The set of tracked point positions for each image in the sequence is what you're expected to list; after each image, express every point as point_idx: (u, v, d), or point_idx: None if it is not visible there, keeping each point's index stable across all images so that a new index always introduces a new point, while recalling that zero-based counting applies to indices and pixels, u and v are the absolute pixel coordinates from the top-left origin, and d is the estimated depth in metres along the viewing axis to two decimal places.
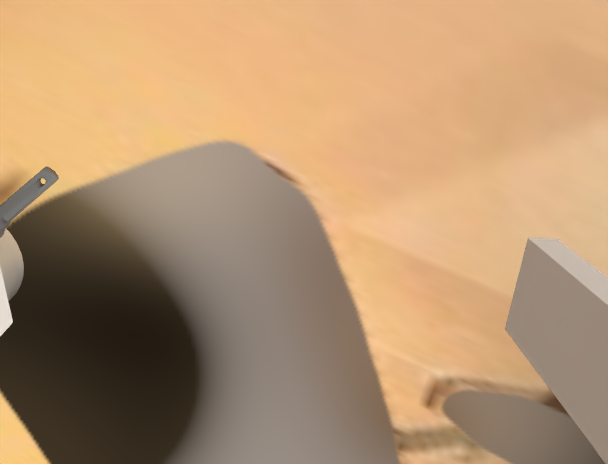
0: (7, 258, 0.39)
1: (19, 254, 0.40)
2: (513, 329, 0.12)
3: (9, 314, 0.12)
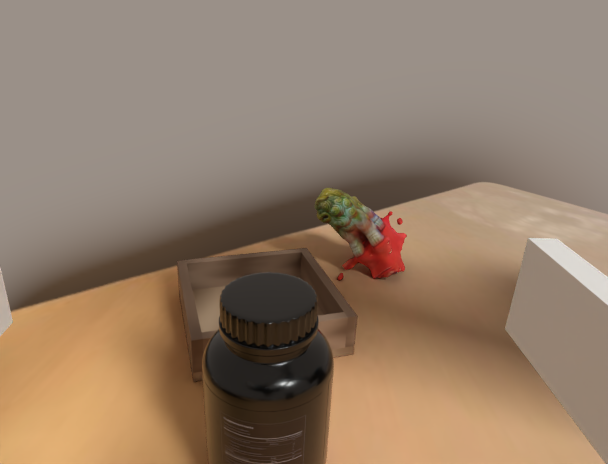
0: None
1: None
2: (513, 329, 0.12)
3: (9, 314, 0.12)
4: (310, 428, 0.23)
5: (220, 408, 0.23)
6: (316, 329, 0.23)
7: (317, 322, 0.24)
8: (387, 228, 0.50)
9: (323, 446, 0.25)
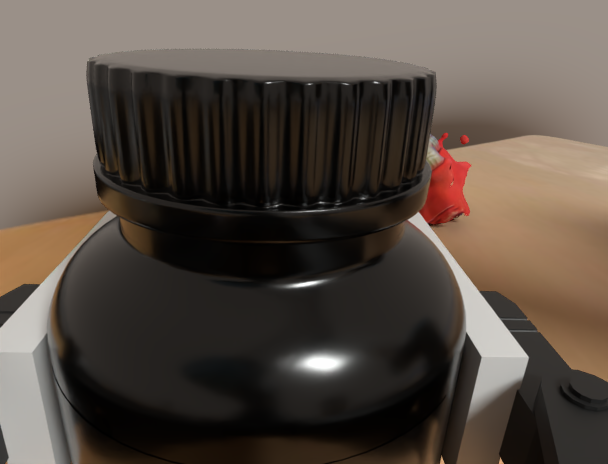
0: None
1: None
2: None
3: None
4: None
5: (87, 450, 0.06)
6: (429, 177, 0.07)
7: (426, 163, 0.07)
8: (445, 151, 0.34)
9: None
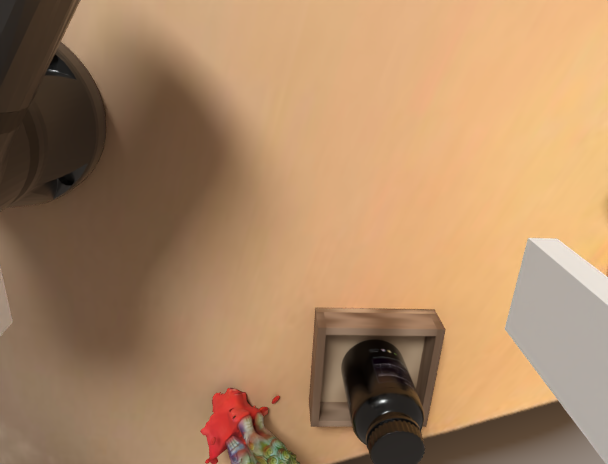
0: None
1: None
2: (513, 329, 0.12)
3: (9, 314, 0.12)
4: (373, 376, 0.45)
5: (417, 396, 0.45)
6: (373, 426, 0.41)
7: (370, 431, 0.41)
8: (224, 437, 0.49)
9: (356, 366, 0.47)
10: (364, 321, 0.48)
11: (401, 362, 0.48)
